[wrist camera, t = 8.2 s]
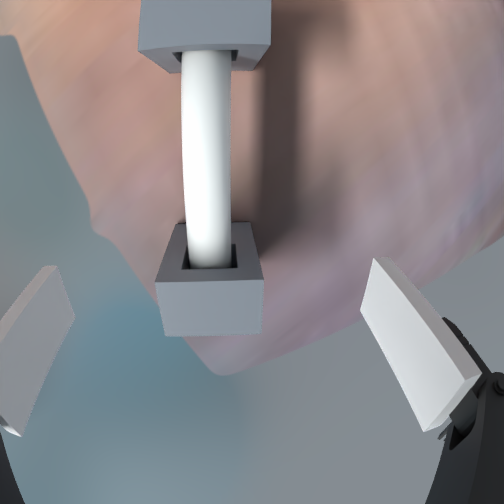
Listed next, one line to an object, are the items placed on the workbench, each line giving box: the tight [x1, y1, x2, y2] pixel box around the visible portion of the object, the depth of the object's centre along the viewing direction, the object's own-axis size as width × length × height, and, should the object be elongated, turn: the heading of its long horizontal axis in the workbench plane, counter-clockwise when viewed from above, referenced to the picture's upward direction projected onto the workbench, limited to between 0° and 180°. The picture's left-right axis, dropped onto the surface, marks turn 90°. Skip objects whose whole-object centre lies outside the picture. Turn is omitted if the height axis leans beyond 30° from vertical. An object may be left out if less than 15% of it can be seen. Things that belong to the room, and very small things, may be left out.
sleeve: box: [138, 0, 271, 73], centre depth 20 cm, size 8×9×13 cm
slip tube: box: [181, 50, 232, 270], centre depth 24 cm, size 25×4×4 cm, turn 179°
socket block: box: [155, 222, 264, 336], centre depth 31 cm, size 6×9×13 cm, turn 89°
